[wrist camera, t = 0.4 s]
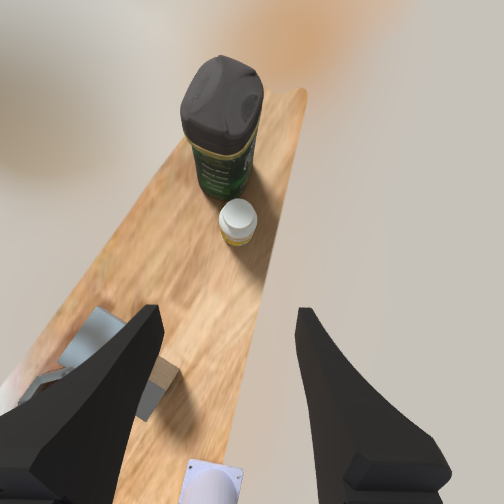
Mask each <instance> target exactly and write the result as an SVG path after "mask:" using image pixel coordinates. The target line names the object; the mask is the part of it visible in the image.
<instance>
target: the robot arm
mask: <svg viewBox="0 0 504 504" xmlns="http://www.w3.org/2000/svg"><path fill="white" fill-rule="evenodd" d="M164 333H165V332H164V327H163V323H162V319H161V315H160V311H159V307H158V305H145V306H144V307H143V308H142V309H141V310H140V311H139V312H138V313H137V314H136V315H135V316H134V317H133V318H132V319H131V320H130V321H129V322H128V323H127V324H126V325H125V326H124V327H123V328H122V329H121V330H120V331H119V332H118V333H116V334H115V335H114V336H113V337H112V338H111V339H110V340H109V341H108V342H107V343H106V344H104V345H103V346H102V347H101V348H100V349H99V350H98V351H97V352H95V353H94V354H93V355H92V356H91V357H89V358H88V359H87V360H86V361H84V362H83V363H82V364H80V365H79V366H78V367H77V368H75V369H74V370H73V371H71V372H70V373H68V374H67V375H65V376H64V377H63V378H61V379H60V380H58V381H57V382H55V383H54V384H52V385H51V386H50V387H48V388H47V389H45V390H43V391H42V392H40V393H39V394H37V395H36V396H34V397H32V398H31V399H29V400H27V401H26V402H24V403H22V404H21V405H19V406H17V407H16V408H14V409H12V410H11V411H9V412H7V413H5V414H3V415H1V416H0V504H112V503H113V499H114V494H115V490H116V486H117V481H118V477H119V473H120V469H121V465H122V461H123V457H124V454H125V450H126V446H127V442H128V439H129V435H130V432H131V428H132V425H133V421H134V418H135V415H136V411H137V408H138V405H139V402H140V399H141V397H142V394H143V391H144V389H145V387H146V384H147V382H148V379H149V377H150V374H151V372H152V369H153V367H154V364H155V362H156V359H157V357H158V354H159V352H160V348H161V345H162V341H163V337H164ZM295 343H296V352H297V357H298V362H299V367H300V371H301V376H302V380H303V385H304V390H305V394H306V399H307V404H308V410H309V418H310V425H311V434H312V441H313V450H314V459H315V469H316V478H317V489H318V499H319V504H443V502H442V500H441V498H440V496H439V493H438V490H439V489H440V488H441V487H443V486H444V485H445V484H446V483H447V482H448V481H449V480H450V478H451V476H452V471H451V469H450V467H449V465H448V463H447V461H446V459H445V457H444V456H443V454H442V452H441V450H440V449H439V447H438V446H437V444H436V443H435V441H434V439H433V438H432V437H431V436H430V435H428V434H427V433H426V432H424V431H423V430H422V429H420V428H419V427H418V426H417V425H415V424H414V423H413V422H411V421H410V420H409V419H408V418H406V417H405V416H404V415H403V414H402V413H400V412H399V411H398V410H397V409H396V408H395V407H393V406H392V405H391V404H390V403H389V402H388V401H387V400H386V399H385V398H384V397H383V396H382V395H381V394H379V393H378V392H377V391H376V390H375V389H374V388H373V387H372V386H371V385H370V384H369V383H368V382H367V381H366V380H365V379H364V378H363V377H362V376H361V374H360V373H359V372H358V371H357V370H356V369H355V368H354V367H353V366H352V364H351V363H350V362H349V361H348V360H347V359H346V357H345V356H344V355H343V353H342V352H341V351H340V350H339V348H338V347H337V346H336V345H335V343H334V342H333V341H332V339H331V338H330V336H329V335H328V333H327V332H326V331H325V329H324V328H323V326H322V324H321V323H320V321H319V319H318V318H317V316H316V314H315V313H314V311H313V309H312V308H299V310H298V318H297V323H296V330H295ZM189 466H192V468H190V467H189ZM237 476H240V478H238V477H237ZM242 477H243V470H242V469H241V468H237V467H232V466H227V465H222V464H217V463H212V462H207V461H202V460H197V459H190V460H189V462H188V466H187V470H186V474H185V478H184V482H183V486H182V491H181V495H180V499H179V503H178V504H237V502H238V497H239V491H240V487H241V482H242Z"/></svg>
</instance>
